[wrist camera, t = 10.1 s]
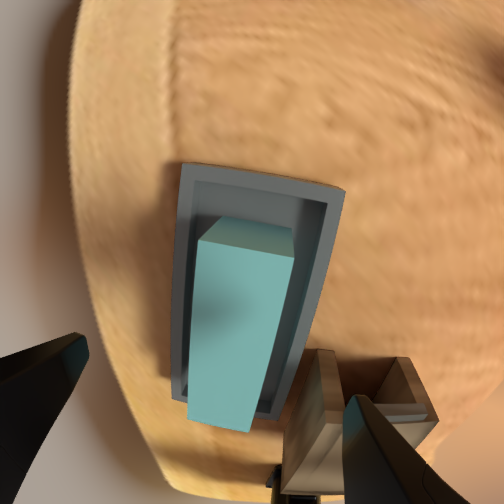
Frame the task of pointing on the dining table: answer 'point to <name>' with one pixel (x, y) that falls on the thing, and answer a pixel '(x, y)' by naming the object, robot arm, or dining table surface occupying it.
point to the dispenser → (331, 423)
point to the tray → (264, 211)
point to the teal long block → (235, 318)
